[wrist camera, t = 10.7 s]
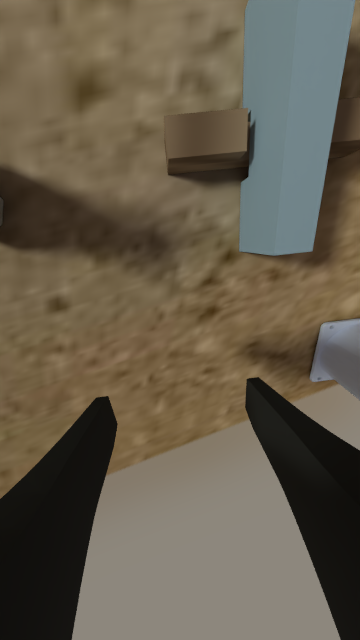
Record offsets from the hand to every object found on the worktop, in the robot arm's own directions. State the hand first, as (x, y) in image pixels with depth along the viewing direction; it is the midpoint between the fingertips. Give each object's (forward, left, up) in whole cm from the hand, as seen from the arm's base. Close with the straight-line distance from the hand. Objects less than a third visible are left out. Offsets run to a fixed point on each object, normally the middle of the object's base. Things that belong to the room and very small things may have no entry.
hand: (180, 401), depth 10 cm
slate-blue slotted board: (-8, -13, -10) cm, 19 cm away
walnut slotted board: (-8, -14, -10) cm, 19 cm away
